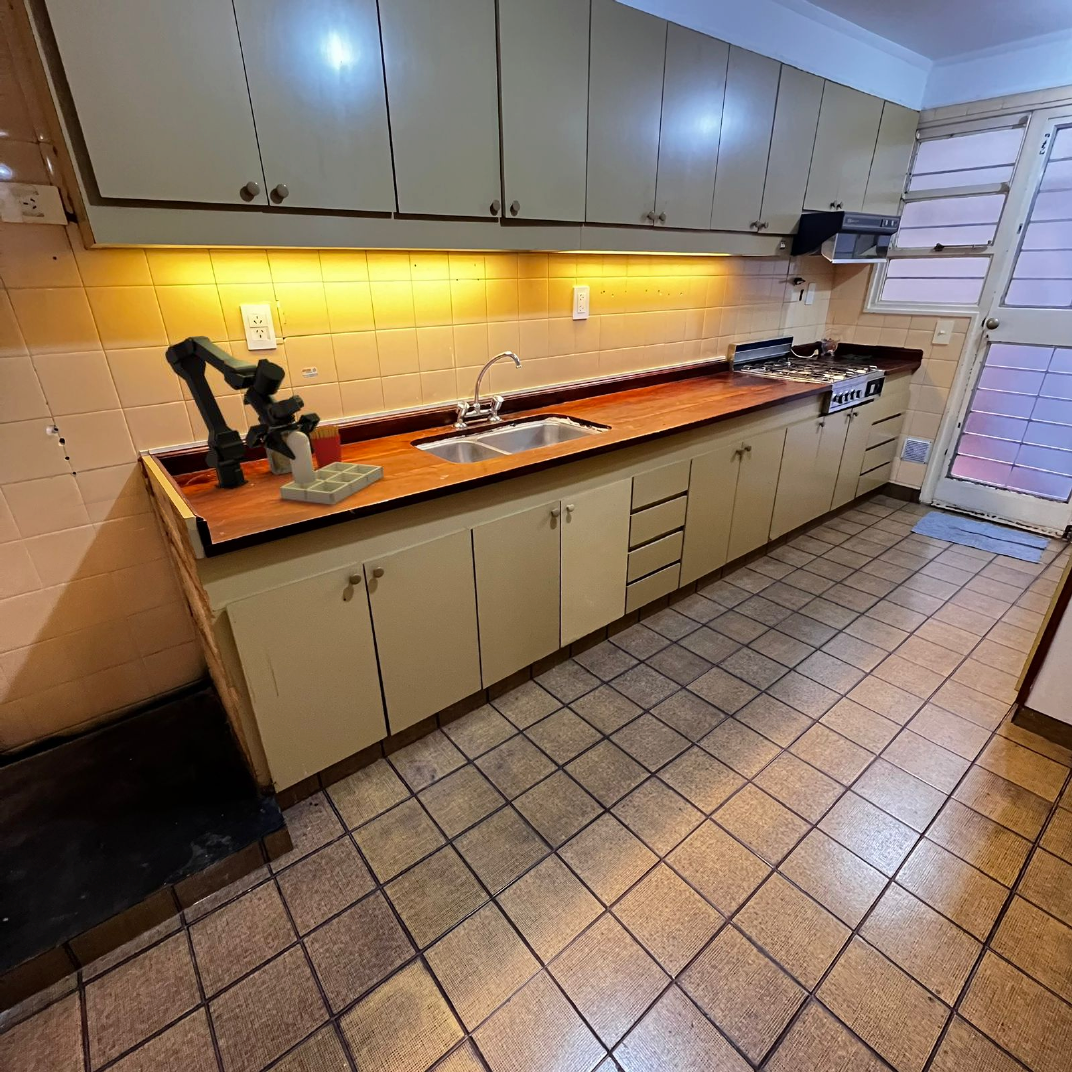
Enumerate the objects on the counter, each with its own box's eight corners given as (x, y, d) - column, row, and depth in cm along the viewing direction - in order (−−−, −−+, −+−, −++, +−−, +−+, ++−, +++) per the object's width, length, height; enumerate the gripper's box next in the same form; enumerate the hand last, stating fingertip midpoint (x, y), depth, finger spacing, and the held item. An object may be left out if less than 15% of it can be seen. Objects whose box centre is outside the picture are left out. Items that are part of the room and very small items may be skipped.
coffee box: (300, 465, 180) (290, 414, 173) (305, 469, 175) (296, 418, 168) (269, 470, 175) (258, 418, 168) (274, 475, 170) (263, 422, 163)
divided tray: (281, 498, 152) (279, 487, 151) (336, 471, 173) (335, 461, 171) (333, 504, 147) (331, 493, 146) (383, 476, 168) (382, 466, 167)
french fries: (342, 462, 182) (335, 422, 176) (345, 465, 178) (339, 424, 173) (312, 467, 177) (305, 426, 172) (315, 470, 174) (308, 428, 169)
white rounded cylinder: (290, 483, 141) (280, 434, 136) (299, 477, 146) (290, 429, 141) (310, 484, 141) (301, 434, 136) (319, 477, 146) (310, 429, 141)
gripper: (241, 391, 129) (281, 445, 128) (309, 380, 143) (345, 428, 142) (228, 422, 136) (266, 473, 135) (294, 408, 150) (329, 454, 149)
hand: (304, 456), depth 140 cm, fingers closed on white rounded cylinder, 5 cm apart
